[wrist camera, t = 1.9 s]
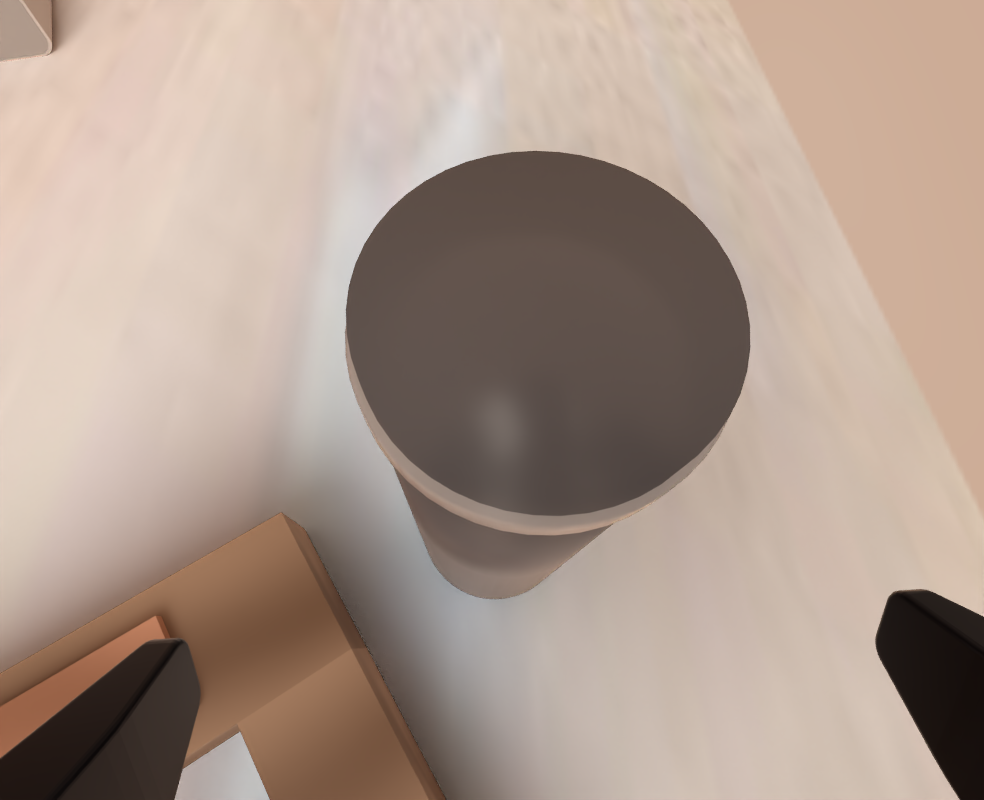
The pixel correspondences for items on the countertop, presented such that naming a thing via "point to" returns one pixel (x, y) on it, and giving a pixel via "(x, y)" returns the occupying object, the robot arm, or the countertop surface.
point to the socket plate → (250, 671)
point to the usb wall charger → (25, 29)
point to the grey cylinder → (540, 356)
